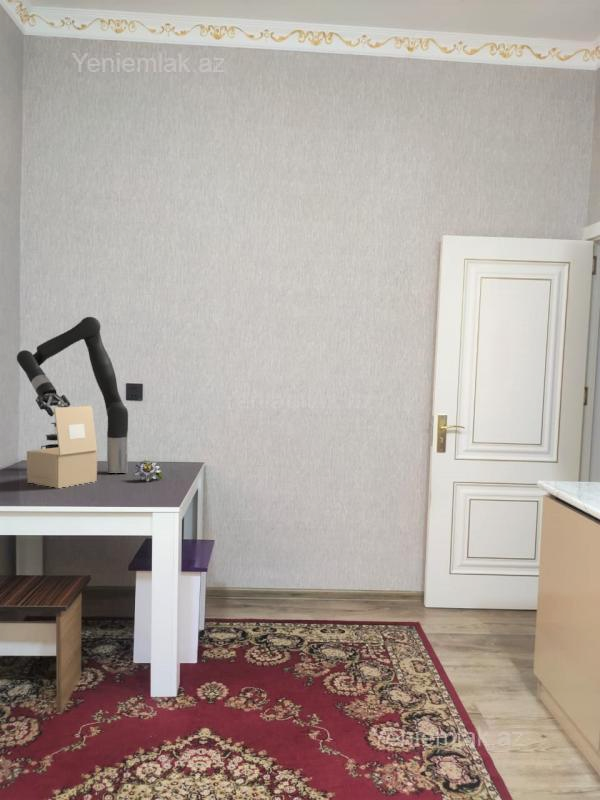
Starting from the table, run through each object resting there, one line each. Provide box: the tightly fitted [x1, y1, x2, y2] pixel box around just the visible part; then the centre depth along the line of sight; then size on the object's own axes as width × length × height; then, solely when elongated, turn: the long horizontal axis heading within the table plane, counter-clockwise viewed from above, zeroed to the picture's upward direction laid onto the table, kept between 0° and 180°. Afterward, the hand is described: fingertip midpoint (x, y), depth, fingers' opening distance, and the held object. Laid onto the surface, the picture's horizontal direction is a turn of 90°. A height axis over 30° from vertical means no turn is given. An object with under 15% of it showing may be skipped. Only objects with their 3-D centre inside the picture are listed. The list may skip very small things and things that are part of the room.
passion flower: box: [133, 458, 163, 482], centre depth 291 cm, size 11×11×12 cm
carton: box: [26, 447, 98, 489], centre depth 282 cm, size 21×21×14 cm
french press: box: [40, 422, 58, 449], centre depth 315 cm, size 12×9×23 cm
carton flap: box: [53, 405, 98, 455], centre depth 276 cm, size 20×19×1 cm
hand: (60, 414), depth 281 cm, fingers open, 8 cm apart
